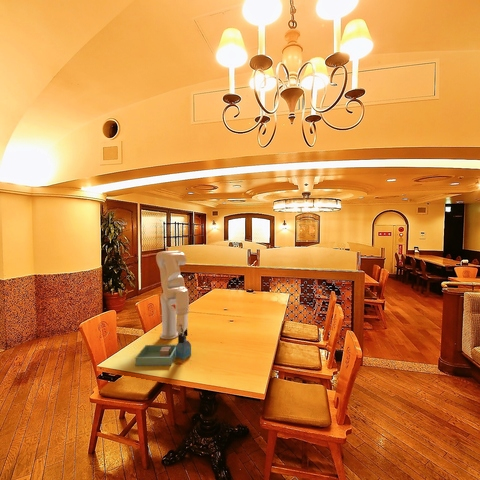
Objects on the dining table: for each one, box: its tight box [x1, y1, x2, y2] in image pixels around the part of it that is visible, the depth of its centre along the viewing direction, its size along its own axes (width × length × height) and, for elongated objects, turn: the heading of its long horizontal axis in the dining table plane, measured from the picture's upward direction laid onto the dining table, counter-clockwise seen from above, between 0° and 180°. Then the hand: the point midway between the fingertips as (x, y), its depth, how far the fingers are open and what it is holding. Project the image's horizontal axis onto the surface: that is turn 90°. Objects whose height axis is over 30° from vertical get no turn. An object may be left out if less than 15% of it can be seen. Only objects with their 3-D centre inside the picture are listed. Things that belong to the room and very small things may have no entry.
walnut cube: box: [160, 347, 171, 357], centre depth 147 cm, size 5×5×5 cm
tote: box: [134, 344, 177, 367], centre depth 147 cm, size 16×20×4 cm
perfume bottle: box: [175, 335, 192, 360], centre depth 150 cm, size 6×6×12 cm
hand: (183, 339), depth 149 cm, fingers open, 9 cm apart
